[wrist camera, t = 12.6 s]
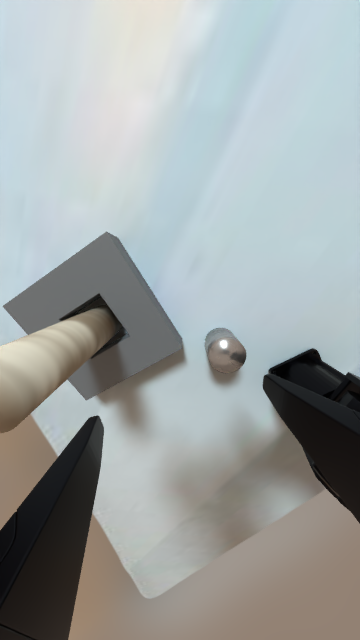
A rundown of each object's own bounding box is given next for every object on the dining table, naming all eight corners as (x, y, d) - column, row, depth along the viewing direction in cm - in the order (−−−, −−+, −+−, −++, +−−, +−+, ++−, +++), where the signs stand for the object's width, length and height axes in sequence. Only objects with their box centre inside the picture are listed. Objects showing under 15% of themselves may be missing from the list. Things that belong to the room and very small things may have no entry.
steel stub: (226, 322, 21) (236, 333, 18) (240, 347, 22) (252, 362, 19) (199, 337, 22) (202, 350, 18) (213, 360, 23) (219, 378, 19)
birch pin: (97, 299, 21) (-58, 348, 7) (127, 314, 21) (33, 386, 8) (86, 326, 22) (-69, 414, 8) (115, 340, 22) (13, 444, 9)
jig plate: (117, 238, 19) (106, 231, 16) (181, 338, 22) (181, 348, 19) (27, 301, 21) (2, 306, 18) (97, 385, 24) (86, 400, 21)
